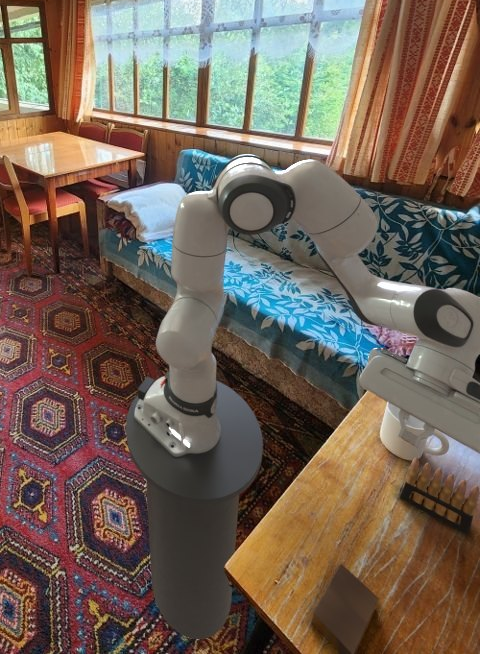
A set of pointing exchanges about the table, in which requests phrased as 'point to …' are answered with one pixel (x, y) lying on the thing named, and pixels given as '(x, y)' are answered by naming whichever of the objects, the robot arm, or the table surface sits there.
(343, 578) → the walnut block
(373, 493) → the table surface
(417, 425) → the mug
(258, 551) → the table surface
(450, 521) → the ammunition clip
